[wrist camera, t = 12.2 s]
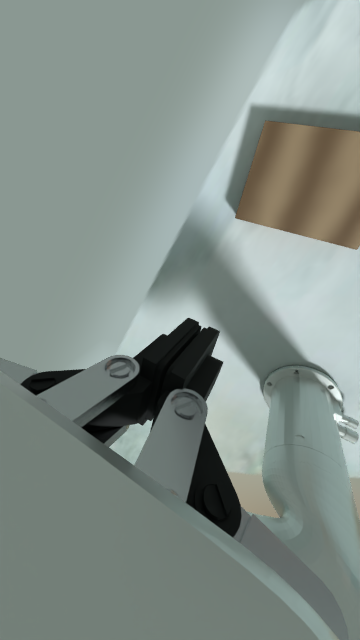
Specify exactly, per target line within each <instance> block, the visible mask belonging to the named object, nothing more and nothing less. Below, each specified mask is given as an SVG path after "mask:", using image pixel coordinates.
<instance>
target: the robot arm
mask: <svg viewBox="0 0 360 640" xmlns="http://www.w3.org/2000/svg"><path fill="white" fill-rule="evenodd" d="M200 331H201V332H200ZM219 333H220V331H218V330H216V329H214V328H211V327H208V328H207V329H206V328H203V329H202V330H201V326H199V322H197V321H195V320H193V319H190V318H187V319H186V320H185V321H184V322H183V323H182V324H180V325H179V326H178V327H177V328H176V329H175V330H174V331H172V332H171V333H170V334H169V335H168V336H167V335H165V334H162V335H161V336H159V337H158V338H157V339H156V340H154V341H153V342H152V343H151V344H150V345H148V346H147V347H146V348H145V349H144V350H142V351H141V352H140V353H139V354H138V355H136V356H135V357H134V358H131V357H129V356H125V355H115V356H111V357H108V358H106V359H104V360H102V361H101V362H99V363H97V364H95V365H93V366H91V367H89V368H87V369H81V370H64V371H48V372H41V373H37V370H34V369H31V368H28V367H25V366H22V365H19V364H16V363H13V362H10V361H7V360H5V359H2V358H0V640H360V520H359V517H358V513H357V509H356V505H355V501H354V497H353V492H352V489H351V484H350V479H349V475H348V470H347V466H346V462H345V457H344V453H343V448H342V444H341V439H340V437H341V438H343V439H345V440H347V441H349V442H351V443H353V444H355V443H356V442H357V440H358V433H357V432H355V431H353V430H351V429H349V428H347V427H343V426H341V425H339V424H338V422H342V423H345V424H346V425H348V426H350V427H352V428H354V429H356V428H357V427H358V424H359V423H358V421H357V420H355V419H353V418H351V417H348V416H345V415H343V413H342V412H341V410H342V406H343V399H342V395H341V392H340V390H339V388H338V386H337V385H336V383H335V382H334V381H333V380H332V379H331V378H330V377H329V376H327V375H326V374H324V373H322V372H321V371H318V370H316V369H313V368H310V367H306V366H287V367H282V368H280V369H277V370H276V371H274V372H272V373H271V374H270V375H269V376H268V377H267V379H266V381H265V383H264V388H263V396H264V399H265V402H266V403H267V405H268V407H269V408H270V410H269V418H268V426H267V434H266V442H265V450H264V458H263V466H262V477H263V483H264V487H265V490H266V493H267V495H268V497H269V499H270V501H271V503H272V505H273V507H274V508H275V510H276V512H277V513H278V515H279V517H280V518H273V517H269V516H262V515H257V514H254V513H250V512H246V511H245V510H244V509H243V508H242V507H241V505H240V502H239V499H238V496H237V494H236V492H235V489H234V487H233V485H232V483H231V480H230V478H229V476H228V474H227V471H226V469H225V467H224V465H223V462H222V460H221V458H220V456H219V453H218V451H217V449H216V447H215V445H214V442H213V440H212V438H211V436H210V433H209V431H208V429H207V427H206V425H205V421H206V417H207V409H208V408H207V404H206V400H207V398H208V396H209V394H210V392H211V390H212V388H213V386H214V384H215V381H216V379H217V377H218V374H219V372H220V369H221V367H222V364H223V362H222V361H220V360H218V359H216V358H214V357H212V356H211V355H212V352H213V349H214V347H215V344H216V341H217V338H218V336H219ZM153 418H154V419H153ZM147 419H148V420H150V421H151V420H152V419H153V423H152V427H151V431H150V434H149V436H148V438H147V440H146V442H145V444H144V446H143V448H142V451H141V453H140V455H139V457H138V459H137V461H136V463H135V465H132V464H131V463H130V462H128V461H127V460H126V459H124V458H123V457H121V456H120V455H119V454H117V453H116V452H114V451H113V450H112V449H110V448H109V447H110V446H111V445H112V444H113V443H114V442H115V441H116V440H117V439H118V438H119V437H120V436H122V435H123V434H124V433H125V432H126V431H127V429H128V428H129V426H130V425H132V424H137V423H139V424H141V425H142V426H143V425H144V423H145V422H146V421H147Z"/></svg>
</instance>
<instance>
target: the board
mask: <svg viewBox="0 0 360 640" xmlns="http://www.w3.org/2000/svg"><path fill="white" fill-rule="evenodd" d="M235 218H236V219H240V220H244V221H248V222H252V223H256V224H260V225H263V226H267V227H271V228H275V229H279V230H283V231H287V232H290V233H294V234H298V235H302V236H306V237H310V238H313V239H317V240H321V241H325V242H329V243H333V244H337V245H340V246H344V247H348V248H352V249H356V250H357V249H358V247H359V246H360V132H358V131H350V130H341V129H332V128H324V127H315V126H307V125H298V124H289V123H281V122H272V121H265V123H264V126H263V130H262V133H261V136H260V139H259V142H258V146H257V149H256V152H255V155H254V159H253V162H252V165H251V168H250V171H249V175H248V178H247V181H246V184H245V187H244V191H243V194H242V197H241V200H240V203H239V207H238V210H237V213H236V216H235Z"/></svg>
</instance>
